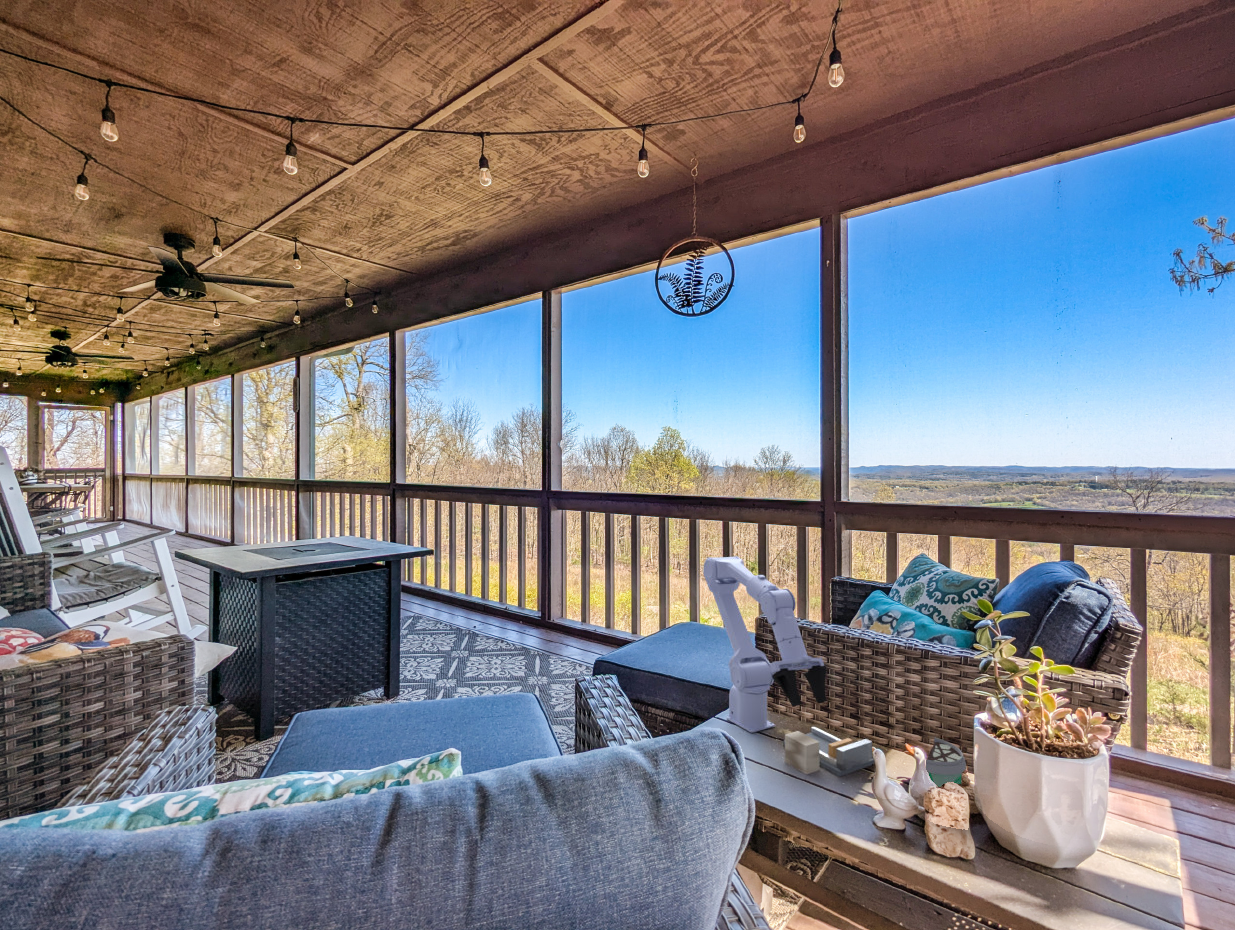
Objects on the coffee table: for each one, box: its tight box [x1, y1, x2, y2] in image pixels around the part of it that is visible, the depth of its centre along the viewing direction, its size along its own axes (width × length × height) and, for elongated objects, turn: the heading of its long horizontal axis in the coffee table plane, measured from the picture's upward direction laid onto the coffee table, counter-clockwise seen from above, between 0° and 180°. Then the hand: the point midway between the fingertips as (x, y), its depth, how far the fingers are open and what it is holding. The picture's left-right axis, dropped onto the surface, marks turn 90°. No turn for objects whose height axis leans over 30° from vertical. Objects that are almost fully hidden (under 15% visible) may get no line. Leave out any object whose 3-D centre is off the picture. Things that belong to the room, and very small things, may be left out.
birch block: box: [784, 730, 821, 775], centre depth 123 cm, size 6×4×6 cm, turn 29°
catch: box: [828, 737, 854, 759], centre depth 125 cm, size 1×6×3 cm, turn 119°
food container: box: [925, 737, 967, 787], centre depth 108 cm, size 12×6×10 cm, turn 143°
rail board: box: [782, 726, 875, 777], centre depth 128 cm, size 16×11×5 cm
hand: (809, 704), depth 123 cm, fingers open, 7 cm apart
